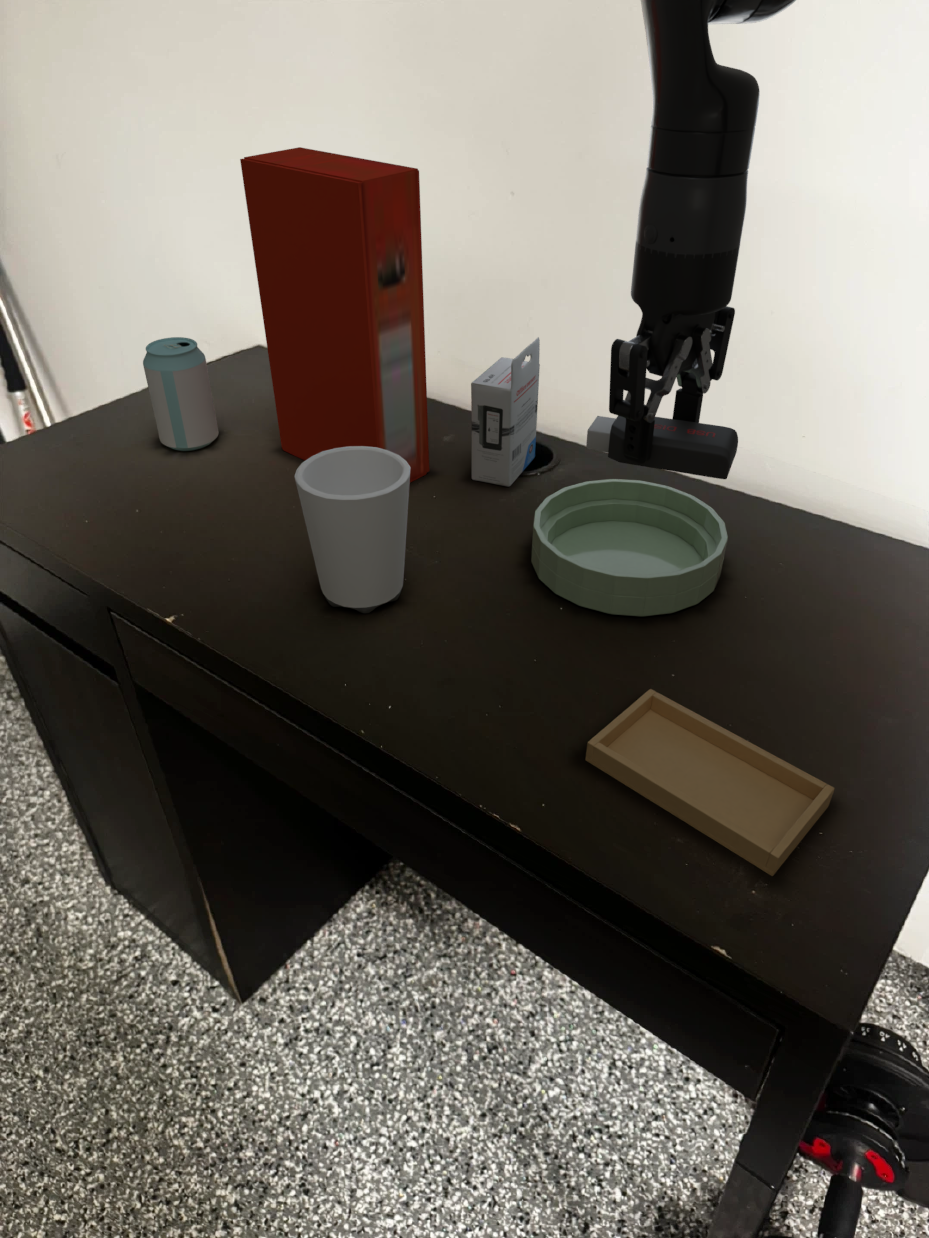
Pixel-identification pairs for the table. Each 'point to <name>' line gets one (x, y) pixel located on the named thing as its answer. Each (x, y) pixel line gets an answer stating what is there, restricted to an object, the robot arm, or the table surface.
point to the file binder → (341, 300)
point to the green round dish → (628, 547)
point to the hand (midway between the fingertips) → (660, 445)
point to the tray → (711, 779)
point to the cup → (356, 523)
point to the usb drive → (671, 445)
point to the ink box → (505, 417)
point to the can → (180, 393)
